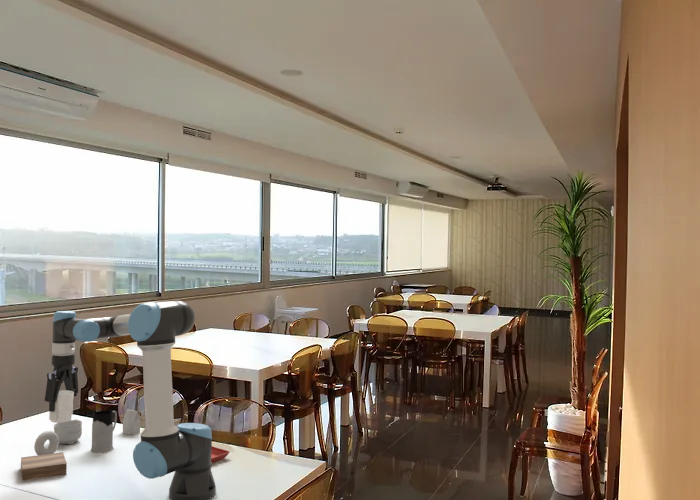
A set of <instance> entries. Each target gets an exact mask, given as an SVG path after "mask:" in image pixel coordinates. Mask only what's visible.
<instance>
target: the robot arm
mask: <svg viewBox="0 0 700 500" xmlns="http://www.w3.org/2000/svg"><path fill="white" fill-rule="evenodd" d="M52 320H53V321H52V345H51V353H52V355H51V365H52V366H53V371H51V372H47V374H46V379H47V380H46V388H45V396H44V401H45V402H47V403H48V411H49V413H48V414H49V418H48V419H49V421H51V420H53V421H57V416H58V402H56V400H57V397H58V393H59V391H61V387H62V384H64V387H65V390H69V391H74V397H77V396H78V394H79V382H78V381H79V380H78V373H79V371H78V370H79V368H78V366H73V365H74V364H75V363H76V362H75V360H76V358H75V357H76V355H75V354H74V353H75V352H76V341H79V342H82V343H83V342H84V343H85V342H87V343H88V342H89V343H90V342H94V341H95V340H99V339H100V340H101V339H105V338H106V339H107V338H117V337H125V336H130V337H131V339H133V341H136V347H137V348H139V349H140V350H141V353H142V371H143V373H142V375H143V397H144V398H143V399H144V401H143V402H144V424H145V425H144V427H145V428H144V429H143V430H142V431H141V432H140V441H139V442H138V443H137V444H136V445H135V446H134V448H133V451H132V460H133V463H134V466H135V468H136V470H137V471H138V472H139V473H140V474H141V476H143V477H145V478H147V479H156V478H162V477H164V476H166V475H168V474H171V473H173V472H174V474H173V477H172V479H171V482H170V485H169V488H168V497H169V499H170V500H209V499H211V498H213V497H214V496H215V495H216V494H217V492H216V491H217V490H216V489H217V486H216V482H215V479H214V476H213V472H212V463H211V450H212V444H213V441H212V440H213V437H212V429H211V427H210V426H209V425H207V424H203V423H197V422H196V423H195V422H182V423H179V424H177V425H175V423H174V421H175V420H174V400H173V398H174V395H173V376H172V375H173V374H172V370H173V369H172V350H171V349H172V348H173V347H174V345H175V344H176V337H179V336H182V335H185V334H187V333H189V332H190V331H191V330H192V329H193V326H194V325H195V323H196V313H195V311H194V308H193V307H191V305H190V304H188V303H187V302H185V301H181V300H172V301H171V300H170V301H150V302H149V301H148V302H143V303H139V304H138V305H136V307H134V308H133V311H131V313H129V314H121V315H115V316H105V317H93V318H78V317H77V313H76V312H75V311H74V310H60V311H59V310H58V311H56V312H54V314H53V319H52ZM53 398H54V399H53ZM74 401H75V398H74V399H73V405H74ZM73 414H74V408H73V409H72V415H73Z"/></svg>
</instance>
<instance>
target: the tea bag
mask: <svg viewBox="0 0 700 500" xmlns="http://www.w3.org/2000/svg"><path fill="white" fill-rule="evenodd" d="M123 433H124V434H128V435H131V434H132V436H135V435H137V434H141V418H140V416H139V412H138V411H137V410H133V409H129V408H127V409H125V413H124V415H123V418H122V434H123ZM134 434H135V435H134Z"/></svg>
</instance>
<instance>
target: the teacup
mask: <svg viewBox="0 0 700 500" xmlns="http://www.w3.org/2000/svg"><path fill="white" fill-rule="evenodd" d="M82 424H83V421H81V420H79V419H76V418H74V419H73V420H72V419H71V420H70V421H68V422H62V423H55V424H54V425H53V432H55V433H56V434H57V436H58V439H59V443H58V444H62V445H68V444H73V443H75V442H77V441H78V440H79V439H81V437H82V435H83V434H82V433H83V431H82V430H83V429H82V427H83V426H82Z"/></svg>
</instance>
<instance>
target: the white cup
mask: <svg viewBox="0 0 700 500" xmlns="http://www.w3.org/2000/svg"><path fill="white" fill-rule="evenodd" d="M53 399H54V398H53ZM73 399H74V400H75V396H74V391H69V390H66V389H65V390H63V389H62V390H61V389H60V390H59V393H58V397H57V400H56V402H58V416H57V421H53V420H50V422H52V423H55V424H56V423H62V422H68V421H70V420H72V415H73V414H72V409H73V410H74V404H73Z"/></svg>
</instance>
